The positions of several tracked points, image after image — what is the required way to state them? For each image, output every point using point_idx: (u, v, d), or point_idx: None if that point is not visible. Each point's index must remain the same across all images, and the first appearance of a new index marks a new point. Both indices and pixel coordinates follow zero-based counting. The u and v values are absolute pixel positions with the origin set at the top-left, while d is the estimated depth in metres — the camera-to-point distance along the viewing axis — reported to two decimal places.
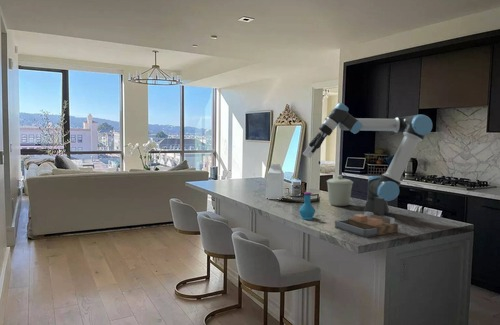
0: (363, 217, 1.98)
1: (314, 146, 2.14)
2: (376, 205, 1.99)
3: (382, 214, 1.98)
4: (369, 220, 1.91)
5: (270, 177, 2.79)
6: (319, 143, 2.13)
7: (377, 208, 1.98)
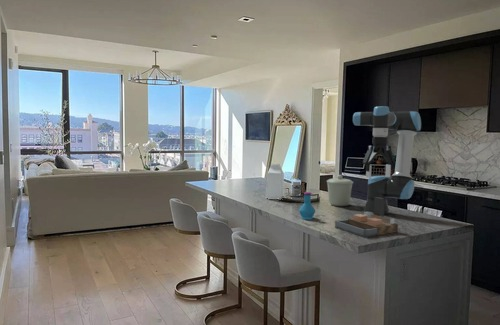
0: (363, 217, 1.98)
1: None
2: (376, 205, 1.99)
3: (382, 214, 1.98)
4: (369, 220, 1.91)
5: (270, 177, 2.79)
6: None
7: (377, 208, 1.98)
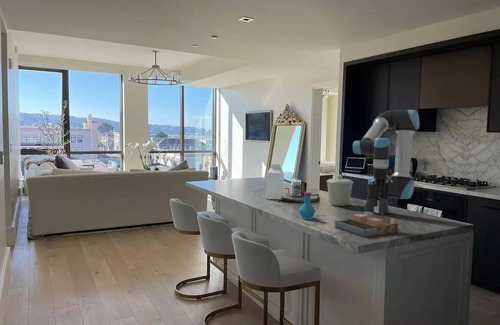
0: (363, 217, 1.98)
1: (384, 199, 1.99)
2: None
3: (382, 214, 1.98)
4: (369, 220, 1.91)
5: (270, 177, 2.79)
6: None
7: None
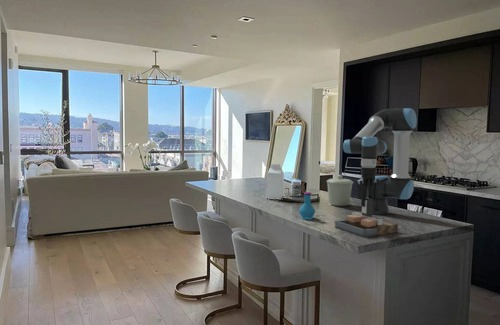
0: (356, 218, 1.95)
1: (372, 199, 1.95)
2: None
3: (370, 214, 1.94)
4: (362, 221, 1.89)
5: (270, 177, 2.79)
6: None
7: None
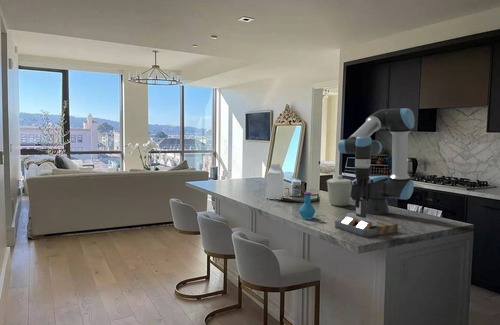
0: (350, 223, 1.94)
1: (367, 200, 1.93)
2: None
3: (364, 215, 1.92)
4: None
5: (270, 177, 2.79)
6: None
7: None
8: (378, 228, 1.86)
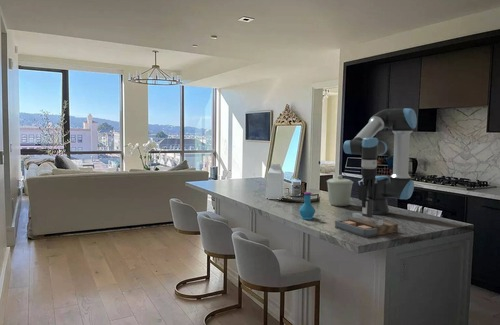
0: (352, 224, 1.94)
1: (373, 200, 1.95)
2: None
3: (370, 215, 1.94)
4: None
5: (270, 177, 2.79)
6: None
7: None
8: (378, 228, 1.86)
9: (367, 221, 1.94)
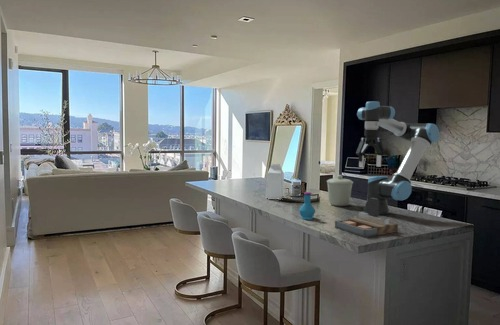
0: (352, 224, 1.94)
1: (382, 154, 2.17)
2: (370, 206, 1.97)
3: (377, 215, 1.96)
4: None
5: (270, 177, 2.79)
6: None
7: (371, 208, 1.96)
8: (378, 228, 1.86)
9: (373, 220, 1.95)
